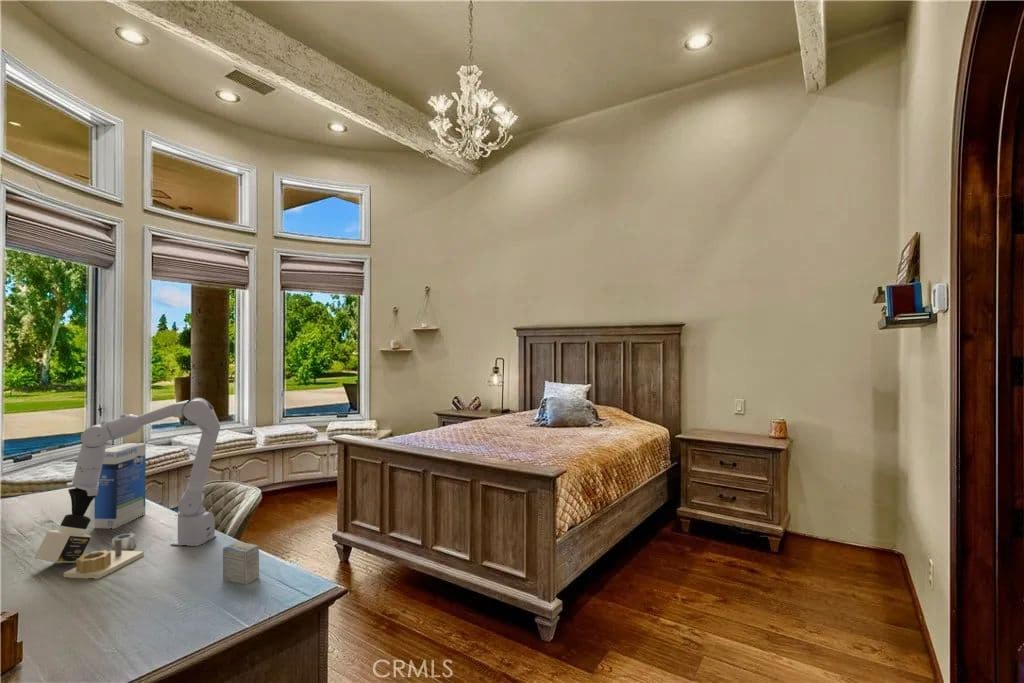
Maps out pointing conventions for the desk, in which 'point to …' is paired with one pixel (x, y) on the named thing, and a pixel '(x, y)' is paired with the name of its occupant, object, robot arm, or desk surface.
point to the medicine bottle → (65, 540)
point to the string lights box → (121, 486)
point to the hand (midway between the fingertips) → (78, 515)
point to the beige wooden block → (240, 562)
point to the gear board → (102, 562)
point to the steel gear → (125, 541)
